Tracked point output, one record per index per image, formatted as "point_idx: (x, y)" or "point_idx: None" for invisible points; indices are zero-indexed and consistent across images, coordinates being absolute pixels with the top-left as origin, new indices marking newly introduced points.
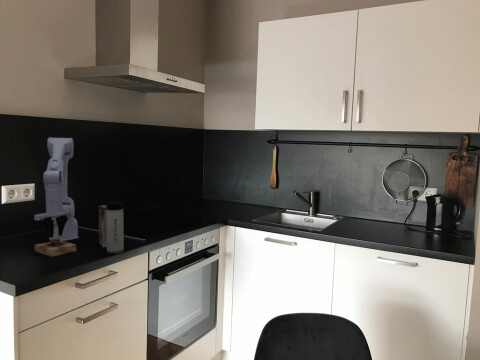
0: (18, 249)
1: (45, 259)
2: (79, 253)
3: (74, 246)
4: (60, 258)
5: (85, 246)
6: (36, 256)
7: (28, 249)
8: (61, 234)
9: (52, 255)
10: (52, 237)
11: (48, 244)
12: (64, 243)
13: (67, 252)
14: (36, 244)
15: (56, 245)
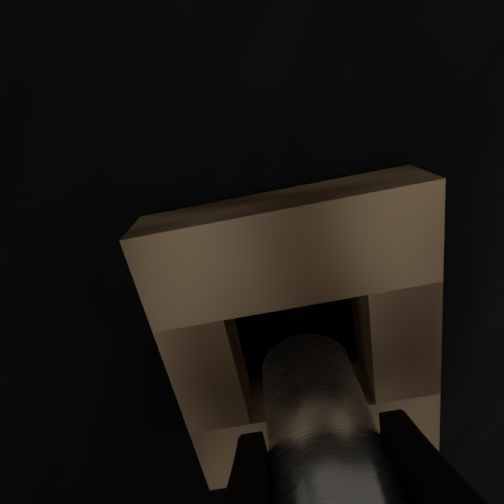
0: None
1: (498, 96)
2: (135, 98)
3: (145, 229)
4: (376, 21)
5: (23, 323)
6: (488, 260)
7: None
8: (250, 444)
9: (399, 169)
10: (372, 417)
11: None
12: (213, 363)
13: (235, 198)
14: None
15: None
